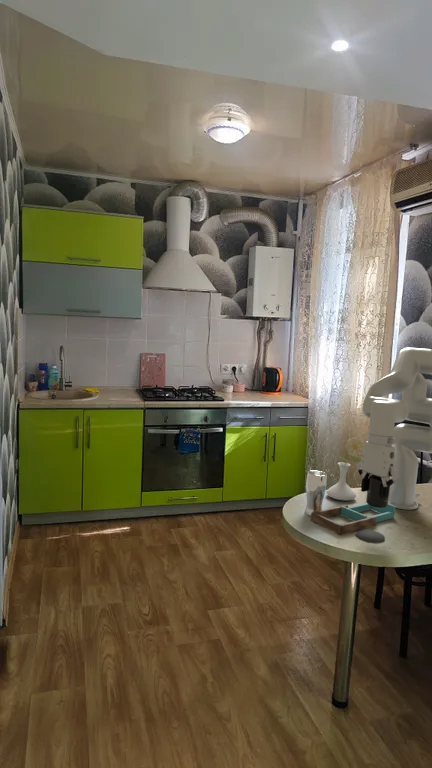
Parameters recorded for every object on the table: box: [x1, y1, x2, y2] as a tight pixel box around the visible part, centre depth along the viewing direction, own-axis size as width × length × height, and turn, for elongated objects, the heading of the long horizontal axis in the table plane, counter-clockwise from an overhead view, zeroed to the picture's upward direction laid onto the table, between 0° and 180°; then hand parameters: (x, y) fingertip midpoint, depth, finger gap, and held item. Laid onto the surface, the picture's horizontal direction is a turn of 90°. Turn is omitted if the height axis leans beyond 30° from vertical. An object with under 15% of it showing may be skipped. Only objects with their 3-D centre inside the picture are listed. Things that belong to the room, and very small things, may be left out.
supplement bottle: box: [365, 474, 390, 508], centre depth 166 cm, size 7×7×12 cm
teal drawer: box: [340, 502, 396, 523], centre depth 185 cm, size 16×11×4 cm, turn 126°
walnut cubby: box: [310, 504, 377, 536], centre depth 177 cm, size 18×13×3 cm
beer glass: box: [304, 469, 327, 517], centre depth 184 cm, size 7×7×15 cm
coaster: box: [355, 528, 386, 544], centre depth 167 cm, size 9×9×1 cm
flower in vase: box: [326, 436, 365, 501], centre depth 203 cm, size 13×11×25 cm
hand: (374, 494), depth 166 cm, fingers closed on supplement bottle, 6 cm apart
